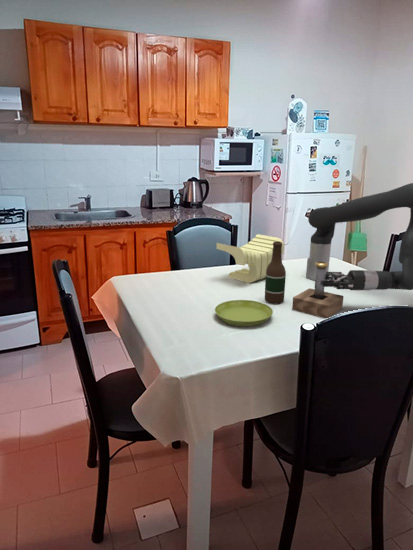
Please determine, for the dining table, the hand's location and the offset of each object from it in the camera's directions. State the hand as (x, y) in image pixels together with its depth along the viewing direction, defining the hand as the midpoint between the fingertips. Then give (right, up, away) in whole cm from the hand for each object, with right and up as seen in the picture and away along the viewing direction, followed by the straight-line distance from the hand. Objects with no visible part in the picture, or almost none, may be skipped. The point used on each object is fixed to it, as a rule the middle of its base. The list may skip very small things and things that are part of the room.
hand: (319, 280), depth 154 cm
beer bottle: (-15, -9, +11) cm, 21 cm away
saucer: (-29, -14, -5) cm, 32 cm away
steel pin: (0, -11, +3) cm, 12 cm away
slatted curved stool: (-22, 0, +42) cm, 47 cm away
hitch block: (0, -11, +3) cm, 12 cm away
